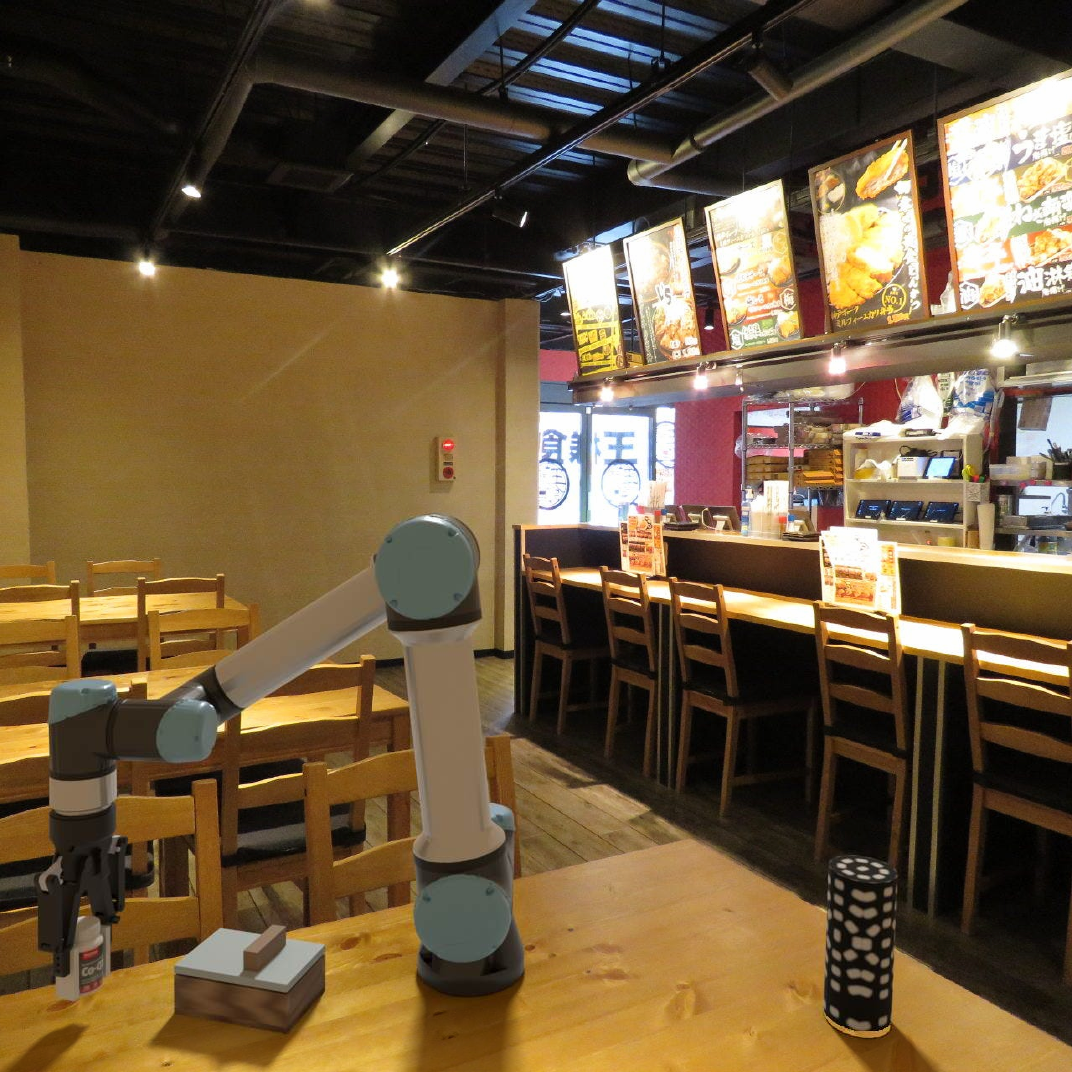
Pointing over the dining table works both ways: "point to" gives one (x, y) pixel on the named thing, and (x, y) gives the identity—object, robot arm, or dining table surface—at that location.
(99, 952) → the pill bottle
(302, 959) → the lid
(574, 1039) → the dining table surface
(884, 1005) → the white-spotted black cylinder
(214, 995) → the wooden box
